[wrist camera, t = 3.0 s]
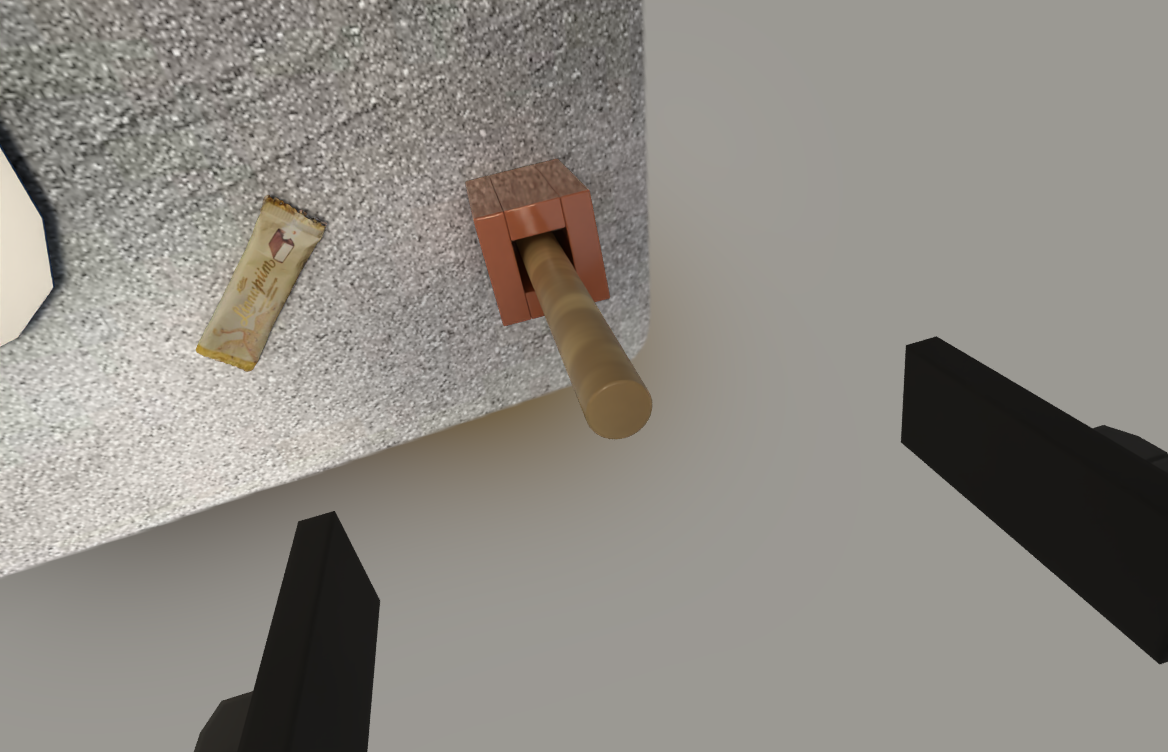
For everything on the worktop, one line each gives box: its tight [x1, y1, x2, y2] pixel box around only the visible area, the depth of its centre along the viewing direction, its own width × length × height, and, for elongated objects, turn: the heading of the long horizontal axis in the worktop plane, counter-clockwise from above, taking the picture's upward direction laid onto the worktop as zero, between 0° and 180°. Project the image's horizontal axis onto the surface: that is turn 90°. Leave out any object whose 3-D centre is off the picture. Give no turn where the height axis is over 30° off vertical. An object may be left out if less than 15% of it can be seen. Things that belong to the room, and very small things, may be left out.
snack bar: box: [196, 195, 327, 372], centre depth 34 cm, size 10×2×3 cm
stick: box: [515, 231, 652, 439], centre depth 26 cm, size 2×2×21 cm
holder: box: [465, 159, 610, 326], centre depth 32 cm, size 5×5×8 cm
